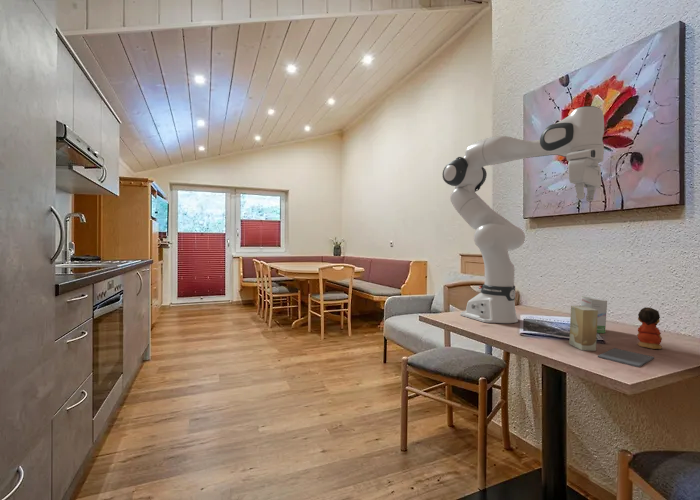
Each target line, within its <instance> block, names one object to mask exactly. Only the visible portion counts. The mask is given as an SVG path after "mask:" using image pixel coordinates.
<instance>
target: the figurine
mask: <svg viewBox="0 0 700 500" xmlns="http://www.w3.org/2000/svg"><path fill="white" fill-rule="evenodd" d="M660 319H661V315H660V312H659V310H657V309H654V308H653V307H647V306H646V307H643V308H641V309H640V311H639V312H638V314H637V320H638V321H639V322H640V323H642V324H641V325H639V327H637V332H638V333H637V338H638V340H639V341H638V342H637V346H639V347H641V348H648V349H652V350H662V349H663V347H662V346H661V343H662V340H663V337H662V336H661V334H662V332H661V331H660V329H659V328H658V327H657V325H658V324H659V323H660V321H661V320H660Z"/></svg>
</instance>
